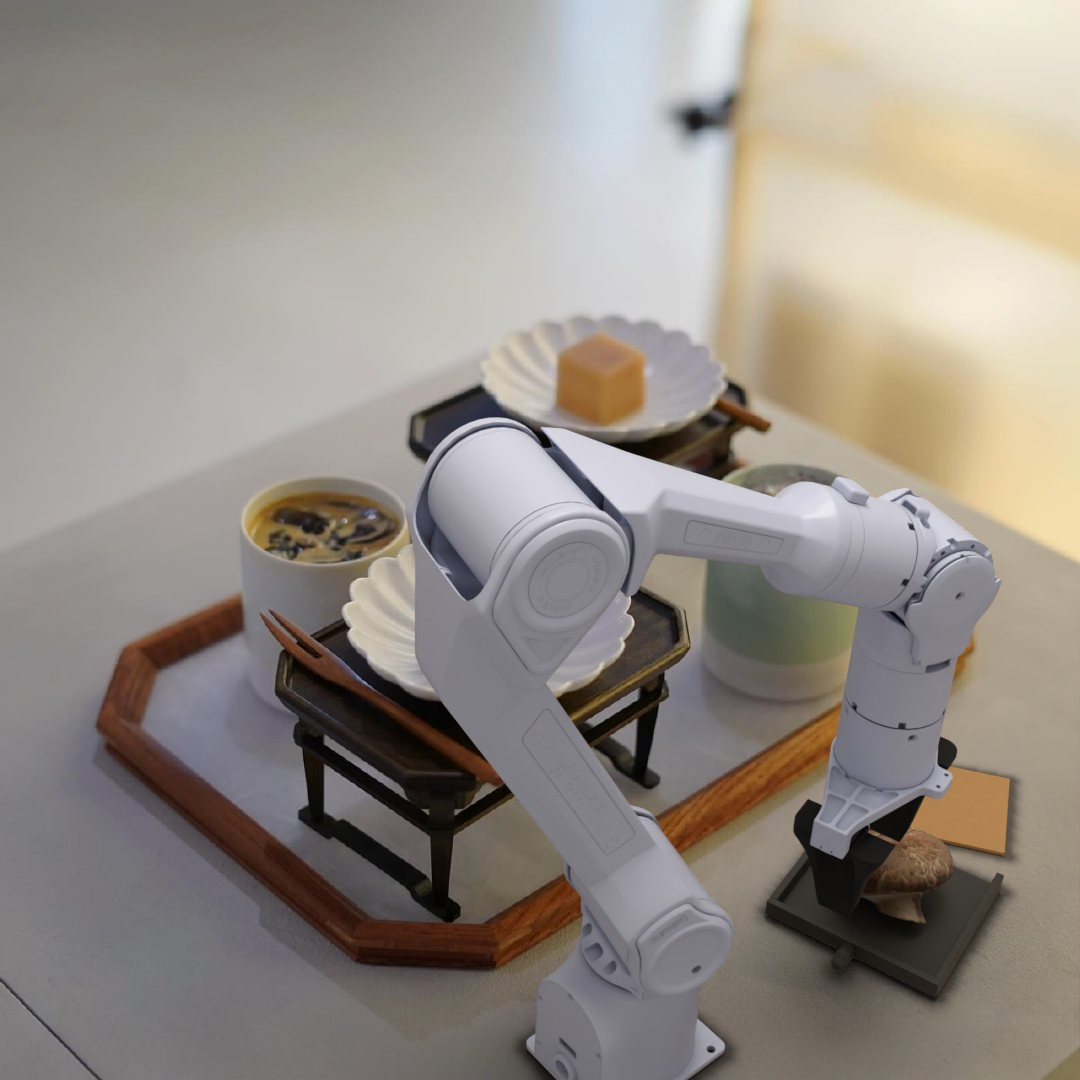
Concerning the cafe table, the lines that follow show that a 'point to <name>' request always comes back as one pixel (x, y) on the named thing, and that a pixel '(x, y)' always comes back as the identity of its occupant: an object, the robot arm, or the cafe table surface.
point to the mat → (968, 812)
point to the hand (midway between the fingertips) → (861, 868)
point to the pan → (891, 926)
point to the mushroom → (909, 874)
